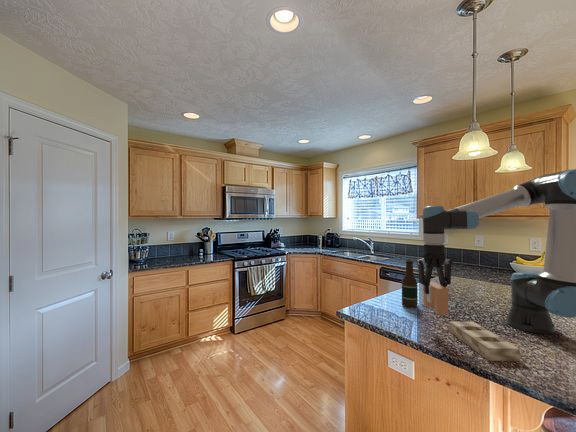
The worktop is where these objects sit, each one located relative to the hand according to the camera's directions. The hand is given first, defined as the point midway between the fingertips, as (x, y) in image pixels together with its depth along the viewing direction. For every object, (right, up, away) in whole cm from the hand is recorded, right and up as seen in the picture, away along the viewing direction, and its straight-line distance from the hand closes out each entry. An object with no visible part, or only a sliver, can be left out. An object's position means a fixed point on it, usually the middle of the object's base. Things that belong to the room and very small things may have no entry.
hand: (435, 301), depth 105 cm
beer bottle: (+5, -13, +33) cm, 36 cm away
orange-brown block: (0, -3, 0) cm, 3 cm away
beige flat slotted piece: (+11, -13, -10) cm, 19 cm away
